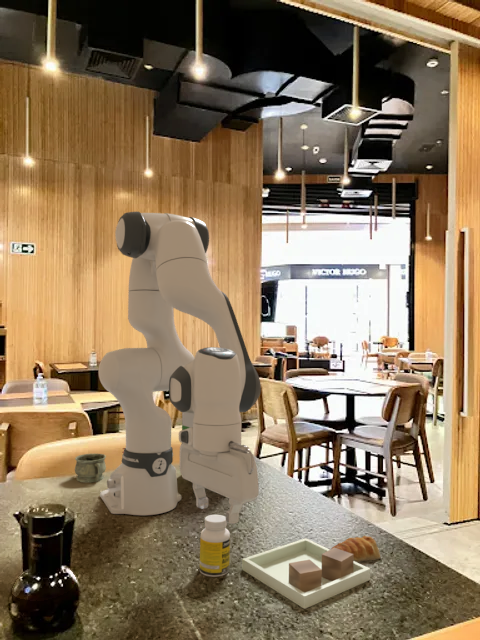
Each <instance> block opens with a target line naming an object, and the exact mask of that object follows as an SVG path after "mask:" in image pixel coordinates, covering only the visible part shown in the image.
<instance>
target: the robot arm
mask: <svg viewBox="0 0 480 640" xmlns="http://www.w3.org/2000/svg"><path fill="white" fill-rule="evenodd" d="M115 228H116V229H115V231H114V233H115V242H116V247H117V249H118V251H119V252H120V254H122V255H123V256H126V257H128V258H132V259H131V263H130V270H129V278H128V294H127V295H128V296H127V297H128V298H127V299H128V301H127V302H128V303H127V304H128V305H127V319H128V322H129V325H130V326H131V328H133V329H134V330H136V331H137V332H139V333H141V334H142V335H143V336H144V338H145V341H146V347H125V348H121V349H116V350H112V351H108V352H106V353H105V355H104V356H102V358H101V360H100V363H99V366H98V378H99V381H100V383H101V385H102V387H103V388H104V389H105V390H106V391H107V392H109V393H110V394H111V395H112V396H113V397H114V398H115V399H116V400H117V402H118V403H119V405H120V407H121V410H122V412H123V416H124V426H125V447H123V448H122V450H123V451H122V454H121V455H122V458H121V463H120V464H119V465H118V466H117V467H116V469H114V470H113V471H112V472H111V473H110V476H109V478H108V479H107V481H106V487H107V489H105V490H104V489H103V490H102V491H100V493H99V496H100V498H101V500H102V501H103V502H104V503H103V504H105V506H106V508H107V509H108V511H109V512H110V513H111V514H114V515H124V514H125V515H131V516H132V515H133V516H153V515H159V514H163V513H167V512H170V511H172V510H173V509H175V508H176V507H177V505H178V502H180V501H181V500H182V494H181V493H179V492H178V480H177V479H178V478H177V477H178V476H177V468H176V467H175V466H174V465H173V461H174V452H173V449H174V448H173V447H172V418H171V416H170V414H169V413H168V411H167V410H165V409H164V408H162V407H161V406H158V405H156V403H155V400H154V393H155V392H165V391H166V392H168V394H169V402H170V403H171V404H172V405H173V407H175V409H177V411H179V412H181V413H182V412H185V413H194V418H193V427H190V428H188V429H184V430H182V429H181V430H179V432H178V441H179V442H180V446H179V471H180V476H181V475H182V476H181V477H182V479H183V480H186V481H188V482H190V483H192V489H193V493H194V496H195V499H196V501H195V503H196V505H195V506H196V507H197V508H199V509H201V510H204V509H208V507H209V497H208V496H207V494H206V489H207V490H209V491H211V492H213V493H215V494H216V493H217V494H218V495H221V496H223V497H226V498H227V499H228V503H229V505H230V506H229V510H227V511H225V517H226V521H227V523H229V524H231V525H234V524H237V523H238V522H239V521H240V520H239V519H240V516H239V515H240V512H241V510H242V508H243V505H244V504H245V503H250V502H254V501H256V500H257V498H258V497H259V495H260V494H259V492H260V491H259V490H260V488H259V477H258V476H259V475H258V474H259V473H258V467H257V462H256V460H255V456H254V454H253V453H252V451H251V450H250V447H249V446H248V445H245V444H242V417H241V413H246V412H248V411H249V410H250V409H251V408H252V407H254V405H255V404H256V403H257V401H258V400H259V397H260V395H261V391H262V390H261V389H262V385H261V384H262V383H261V381H260V377H259V374H258V371H257V370H256V368H255V365H254V364H253V362H252V361H251V358H250V356H249V353H248V350H247V347H246V344H245V341H244V338H243V335H242V332H241V328H240V326H239V323H238V319H237V317H236V314H235V312H234V308H233V307H232V303H231V301H230V299H229V297H228V296H227V294H226V293H224V292H223V291H222V290H221V289H220V288H219V287H218V286H217V285H216V282H215V281H214V279H213V277H212V276H211V274H210V271H209V270H210V269H209V266H208V260H207V256H206V254H207V251H208V249H209V244H210V233H209V232H210V231H209V229H208V227H207V225H206V223H205V222H204V221H202V220H200V219H198V218H195V217H193V216H192V217H191V216H190V217H187V216H183V215H179V214H175V213H174V214H173V213H168V212H167V213H166V212H164V213H161V212H140V211H128V212H125V213H123V214H122V215H121V217H119V219H118V222H117V225H116V227H115ZM174 309H175V310H177V311H179V312H181V313H184V314H187V315H190V316H192V317H195V318H197V319H199V320H200V321H202V322H204V323H206V324H208V326H209V327H211V329H212V330H213V332H214V334H215V337H216V340H217V342H218V345H219V347H217V346H216V347H215V346H213V347H212V346H210V347H208V346H207V347H203V348H200V349H198V350H197V351H196V353H195V355H193V353H192V352H191V351H190V350H189V349H187V347H185V346H184V343H182V341H181V338H180V337H179V334H178V332H177V328H176V325H175V324H176V323H175V315H174Z"/></svg>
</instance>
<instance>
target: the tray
mask: <svg viewBox="0 0 480 640" xmlns="http://www.w3.org/2000/svg"><path fill="white" fill-rule="evenodd" d="M330 549H331V548H327V547H325V546H323V545H321V544H319V543H317V542H315V541H313V540H311V539H308V538H306V537H305V538H302V539H298V540H296V541H293V542H290V543H288V544H283V545H279V546H278V547H274V548H272V549H268V550H266V551H262V552H259V553H256V554H253V555H249V556H248V557H247V556H246V557H244V558H242V563H241V565H242V566H241V568H242V569H241V570H242V571H243V572H245V573H247V574H248V575H250V576H251V577H253V578H255V579H257V580H258V581H259V582H260V583H262V584H263V585H265V586H267V587H269V588H270V589H272V590H274V591H276V593H278V594H280V595H281V596H283V597H285V598H287V599H288V600H289V601H291V602H293V603H294V604H296V605H298V606H299V607H300V608H303V609H304V610H305V609H308V608H310V607H313V606H315V605H316V604H319V603H322V602H324V601H326V600H329V599H331V598H333V597H335V596H337V595H339V594H342V593H344V592H346V591H348V590H351V589H353V588H355V587H358V586H360V585H362V584H364V583H366V582H368V581H371V568H370V567H368V566H365V565H363V564H361V563H360V562H355V561H353V573H351V574H349V575H346V576H344V577H341V578H339V579H337V580H334V581H330V580H327V579H325V578H323V577H322V586H320V587H317V588H315V589H313V590H310V591H308V592H305V593H304V592H302V591H301V590H299V589H297V588H296V587H294V586H292V585H291V584H289V563H293V562H298V561H304V560H311V561H312V562H313V563H314V564H316V565H317V566H318V567H319V568H320V569H321V570H322V554H323V553H325V552H327V551H329V550H330Z"/></svg>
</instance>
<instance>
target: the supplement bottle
mask: <svg viewBox="0 0 480 640" xmlns="http://www.w3.org/2000/svg"><path fill="white" fill-rule="evenodd" d="M227 524H228V522H227V521H226V515H222V514H210V515H209V514H208V515H207V516H206V517H204V527H205V528H203V529H202V530H201V532H200V538H199V540H200V541H199V543H200V544H199V572H200V573H201V574H202V575H204V576H206V577H211V578H212V577H213V578H214V577H222V576H224V575H226V574H228V573H229V571H230V560H231V559H230V555H231V533H230V530H228V529H227V526H228V525H227Z"/></svg>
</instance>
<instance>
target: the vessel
mask: <svg viewBox="0 0 480 640" xmlns="http://www.w3.org/2000/svg"><path fill="white" fill-rule="evenodd" d="M106 458H107V455H106V454H103V453H85V454H80V455H77V456H75V458H74V460H75V461H76V463H75V466H74V474H75V475H76V476H77V477H76V481H77V482H80V483H97V482H100V481H103V479H104V478H105V477H104V475H103V474H104V473H105V472H106V469H107V466H106V462H105V460H106Z"/></svg>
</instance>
